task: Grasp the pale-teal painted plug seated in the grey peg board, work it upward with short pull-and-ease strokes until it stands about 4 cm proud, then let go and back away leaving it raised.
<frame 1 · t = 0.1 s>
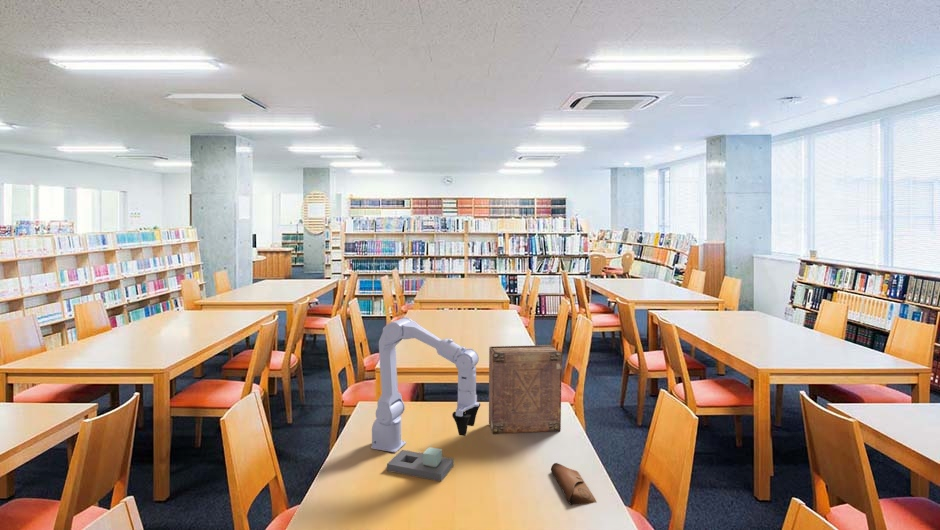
hand: (466, 430, 156), 10 cm above the table, fingers open, 7 cm apart
book: (523, 428, 182), on the table
plug: (432, 460, 150), point 3 cm above the table, slide at 0.0 cm
sunglasses case: (572, 489, 141), on the table
grey peg board: (420, 468, 151), on the table
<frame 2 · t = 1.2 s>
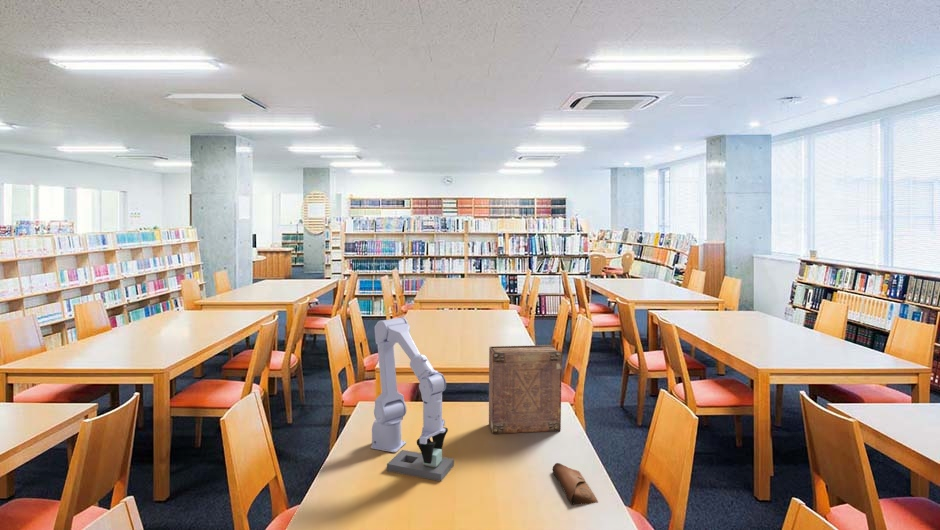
hand: (432, 457, 150), 4 cm above the table, fingers open, 7 cm apart
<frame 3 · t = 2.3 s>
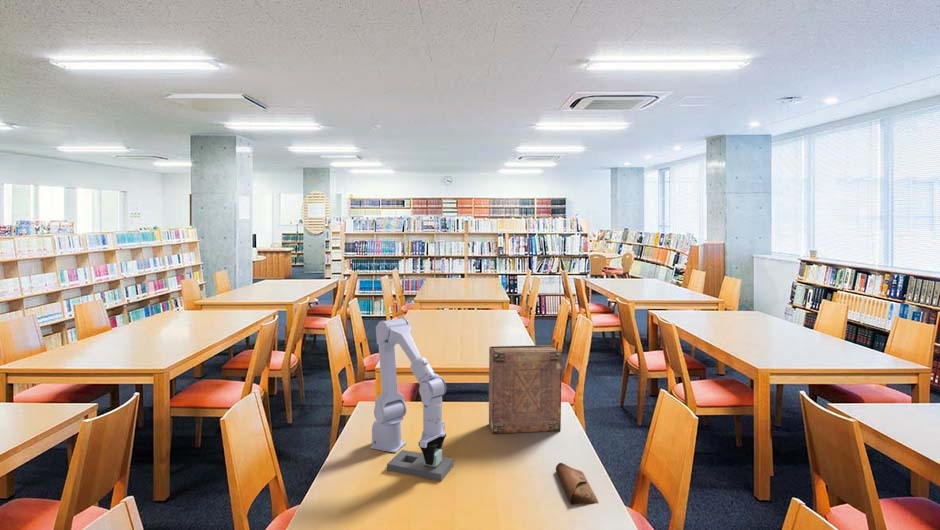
hand: (432, 460, 150), 3 cm above the table, fingers closed on plug, 4 cm apart
plug: (432, 460, 150), point 3 cm above the table, slide at 0.0 cm, touching gripper
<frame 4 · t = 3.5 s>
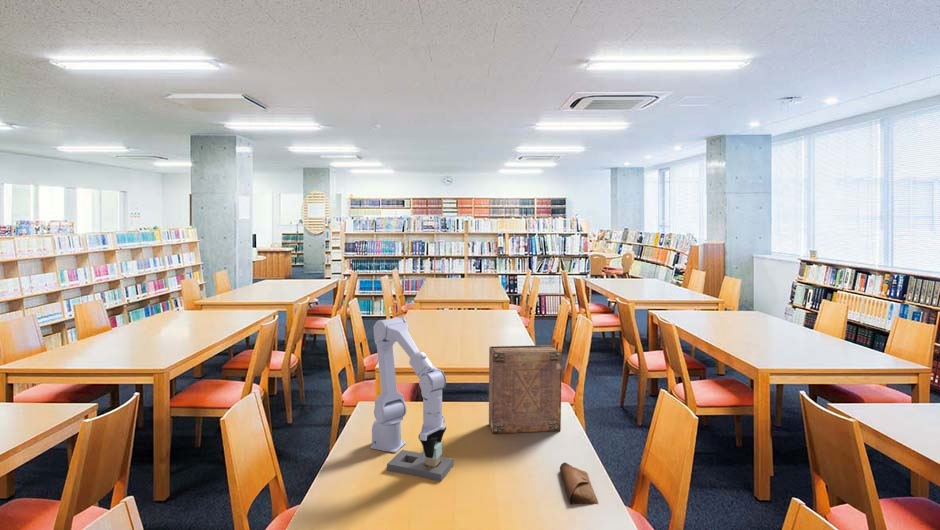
hand: (432, 453, 150), 5 cm above the table, fingers closed on plug, 4 cm apart
plug: (432, 454, 150), point 5 cm above the table, slide at 2.1 cm, touching gripper
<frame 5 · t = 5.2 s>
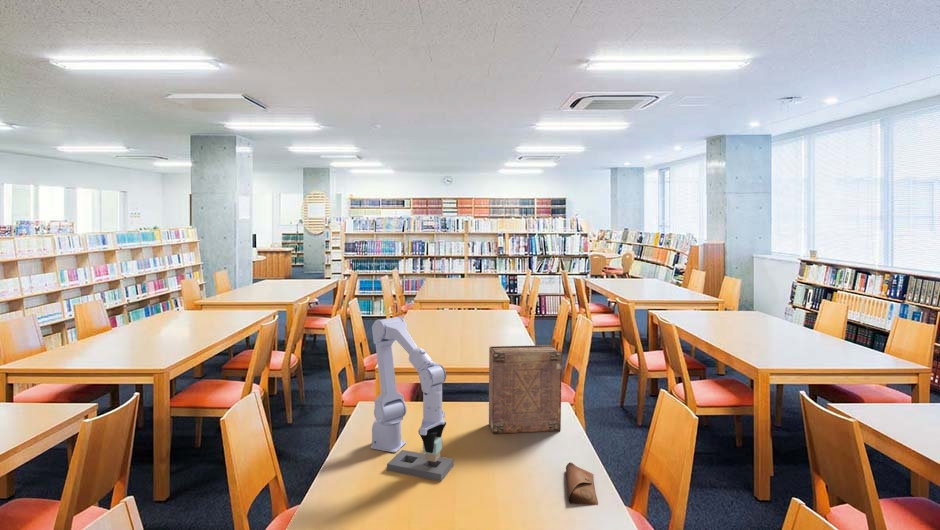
hand: (432, 448, 150), 7 cm above the table, fingers closed on plug, 4 cm apart
plug: (432, 449, 150), point 7 cm above the table, slide at 3.7 cm, touching gripper
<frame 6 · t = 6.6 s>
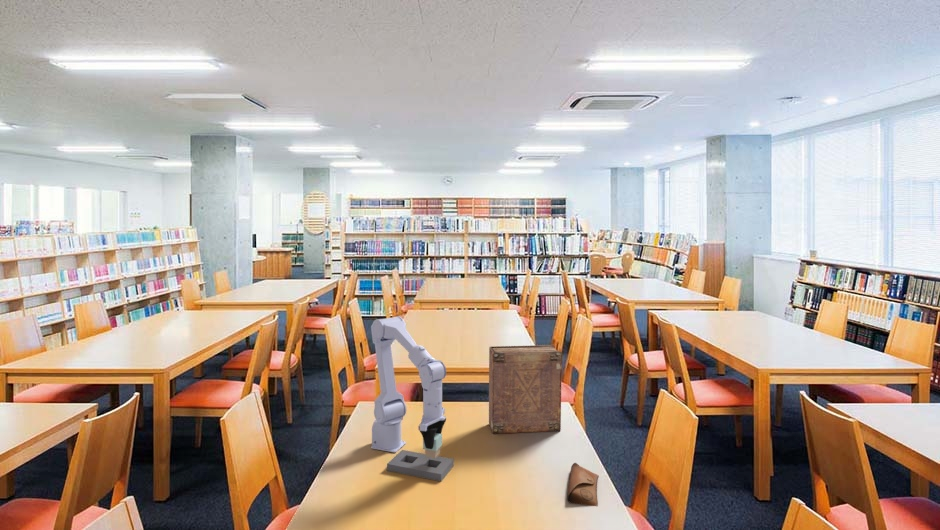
hand: (432, 444, 149), 8 cm above the table, fingers closed on plug, 4 cm apart
plug: (432, 445, 149), point 8 cm above the table, slide at 4.9 cm, touching gripper
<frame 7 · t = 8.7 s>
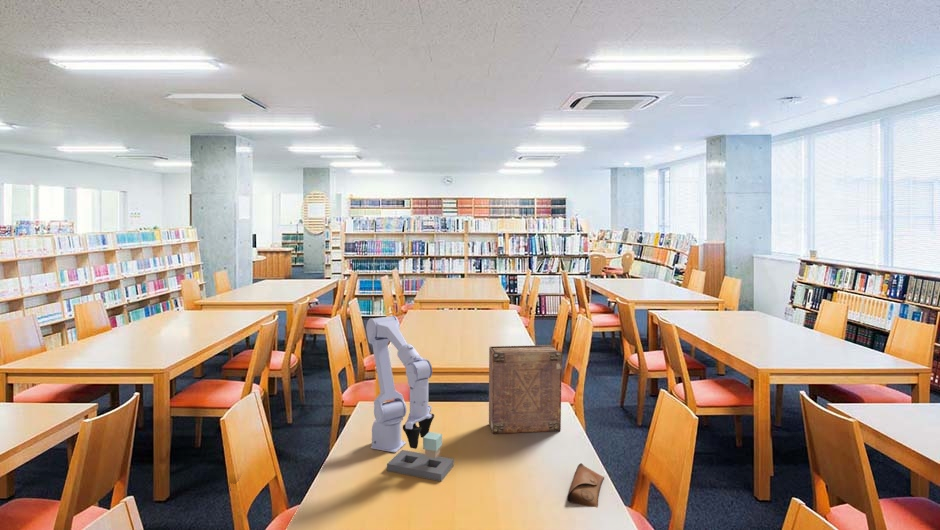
hand: (418, 442, 151), 8 cm above the table, fingers open, 7 cm apart
plug: (432, 445, 149), point 8 cm above the table, slide at 4.9 cm
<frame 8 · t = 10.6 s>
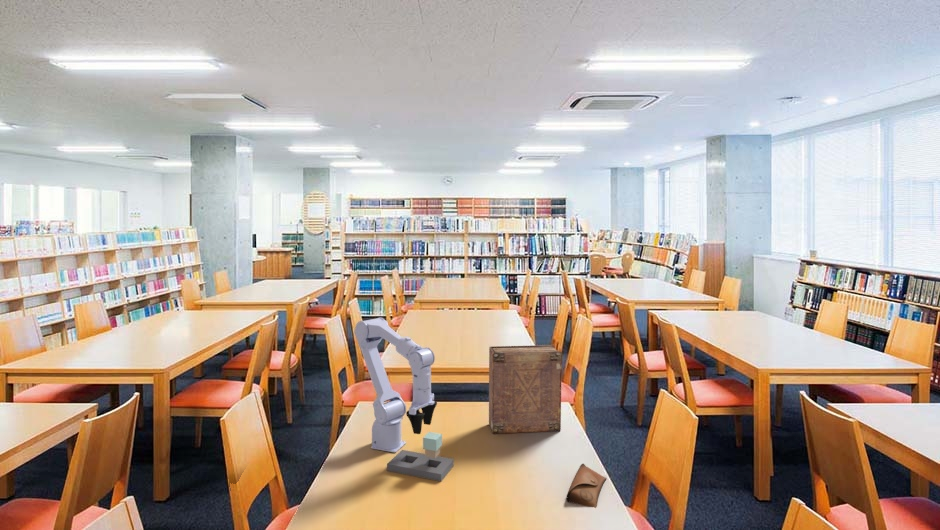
hand: (422, 428, 156), 10 cm above the table, fingers open, 7 cm apart
at the end: plug slide at 4.9 cm; the gripper is holding nothing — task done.
